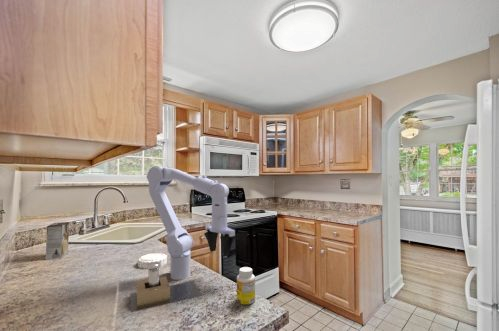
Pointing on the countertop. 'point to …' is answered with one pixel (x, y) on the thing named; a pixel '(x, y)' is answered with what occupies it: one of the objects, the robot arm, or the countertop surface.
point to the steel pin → (153, 274)
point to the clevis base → (174, 295)
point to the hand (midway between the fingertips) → (219, 253)
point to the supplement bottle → (245, 286)
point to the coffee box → (57, 240)
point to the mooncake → (152, 259)
